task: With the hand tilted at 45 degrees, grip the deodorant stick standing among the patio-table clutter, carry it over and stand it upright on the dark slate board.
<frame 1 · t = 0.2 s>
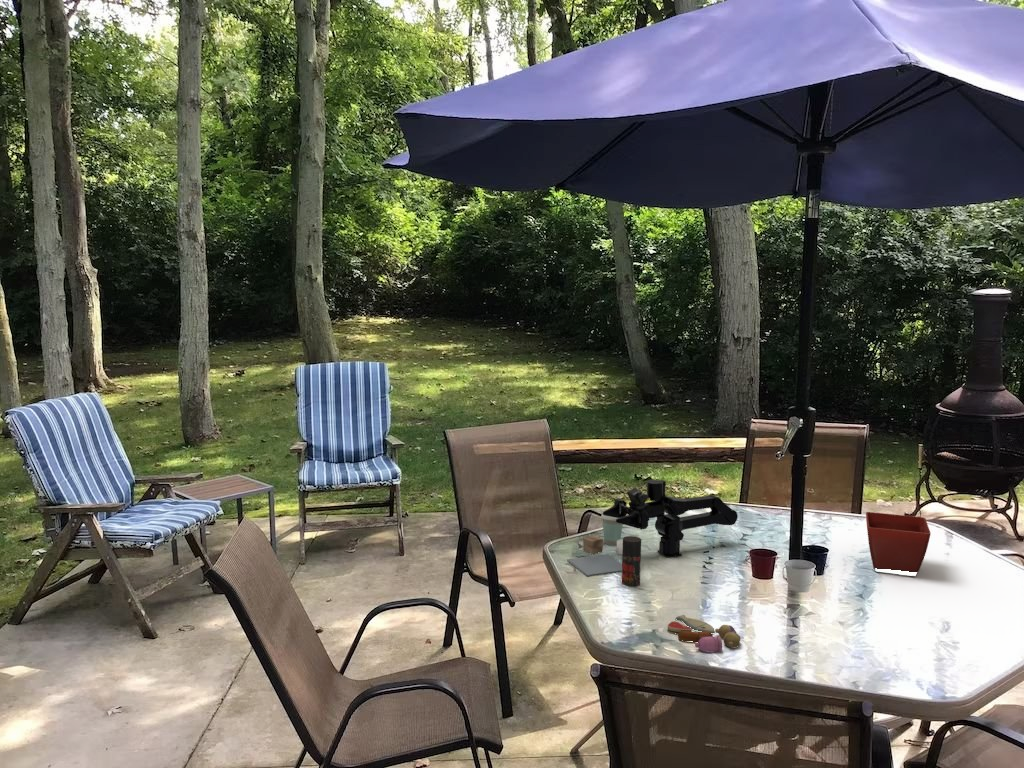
hand: (609, 517, 280), 17 cm above the table, tool horizontal, fingers open, 9 cm apart
walnut box: (592, 551, 295), on the table
deodorant: (630, 583, 265), on the table
plant pot: (893, 569, 279), on the table
off-white smooth dome: (626, 552, 294), on the table
toy food set: (704, 641, 225), on the table
slate board: (597, 565, 280), on the table
coffee cup: (612, 543, 304), on the table
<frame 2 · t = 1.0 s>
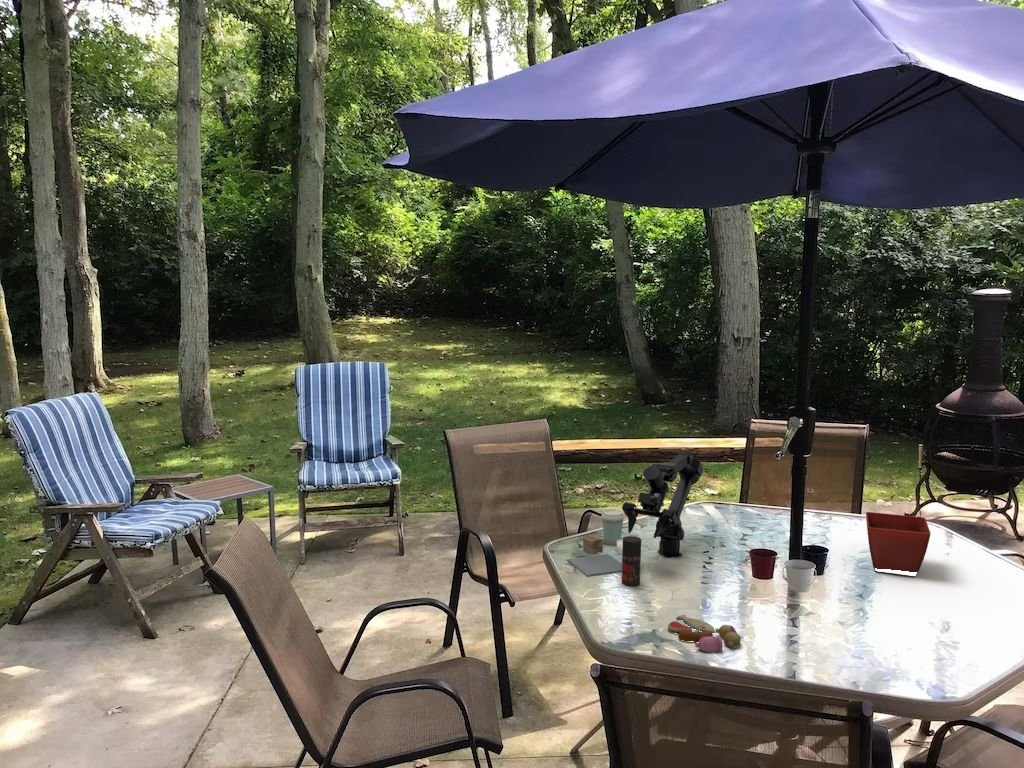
hand: (641, 535, 270), 14 cm above the table, tool tilted 45°, fingers open, 9 cm apart
nothing on the table moved.
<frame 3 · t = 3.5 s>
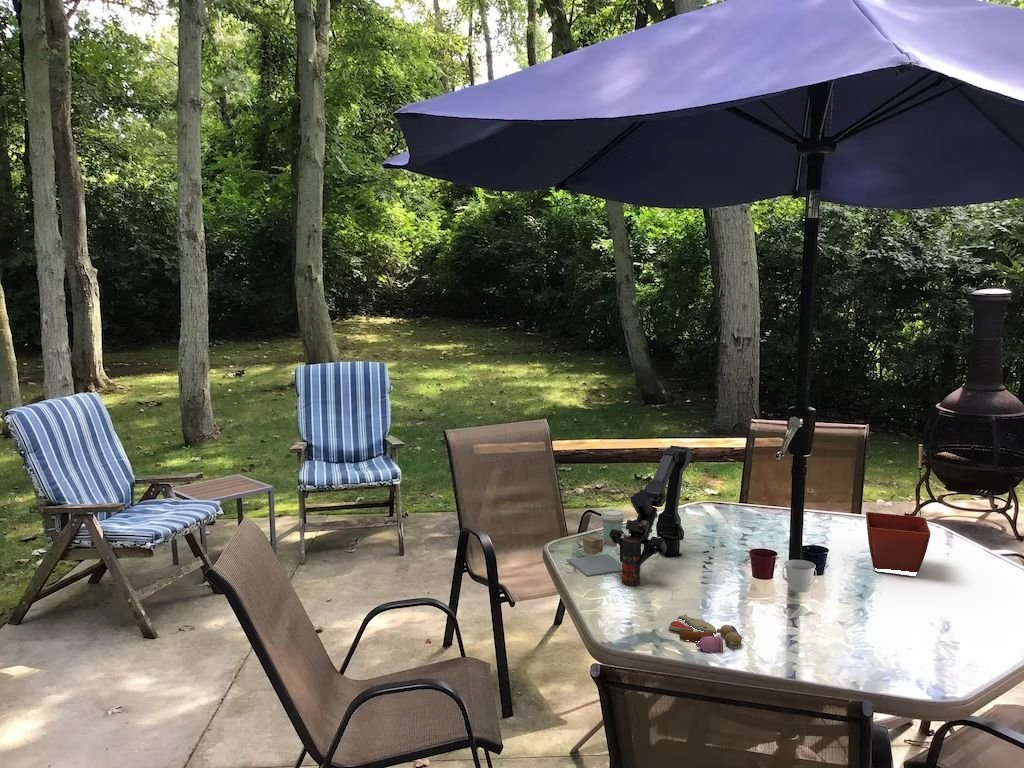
hand: (629, 563, 262), 7 cm above the table, tool tilted 45°, fingers closed on deodorant, 6 cm apart
deodorant: (630, 583, 265), on the table, touching gripper
everything else where it was.
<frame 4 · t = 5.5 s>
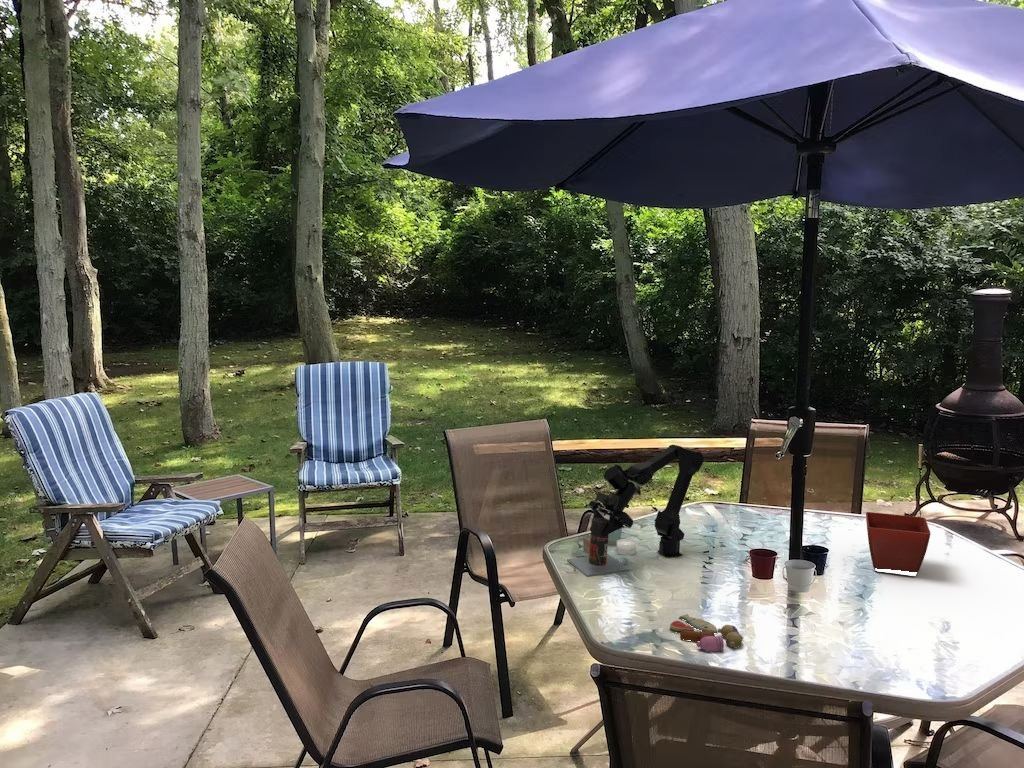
hand: (596, 533, 273), 13 cm above the table, tool tilted 45°, fingers closed on deodorant, 6 cm apart
deodorant: (597, 563, 275), point 3 cm above the table, touching gripper
everything else where it was.
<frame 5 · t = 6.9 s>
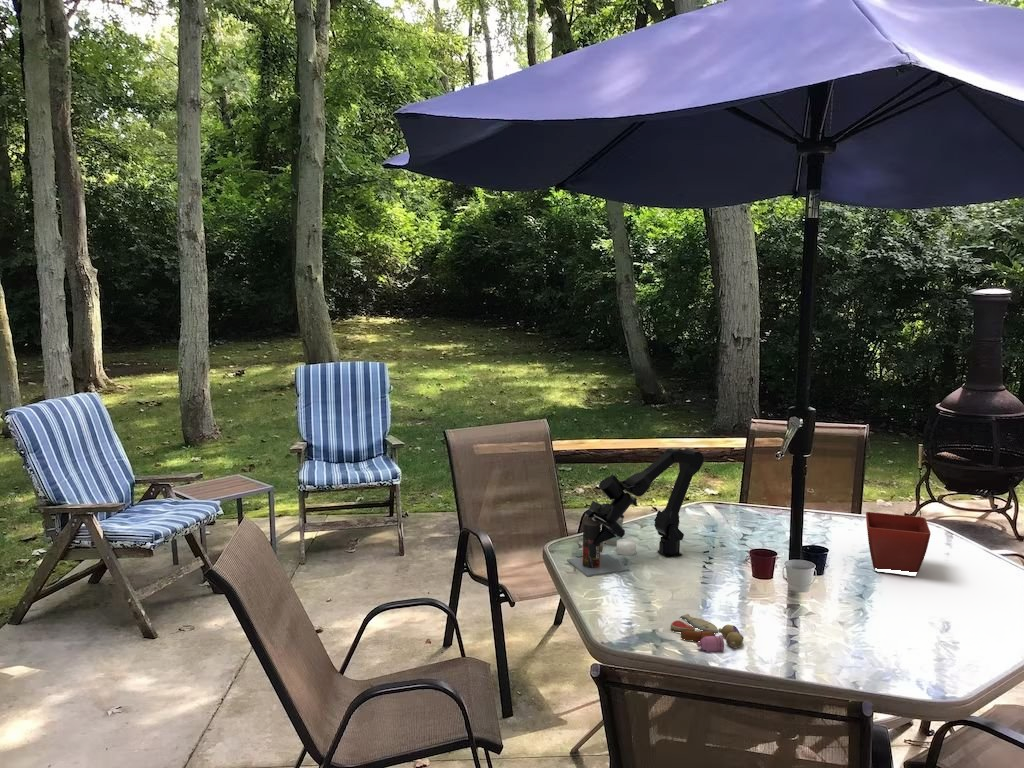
hand: (589, 541, 278), 9 cm above the table, tool tilted 45°, fingers closed on deodorant, 6 cm apart
deodorant: (591, 565, 279), resting on slate board, touching gripper
everything else where it was.
when the fingers open (9 cm above the table, at t = 7.2 s): deodorant stays where it is, resting on slate board.
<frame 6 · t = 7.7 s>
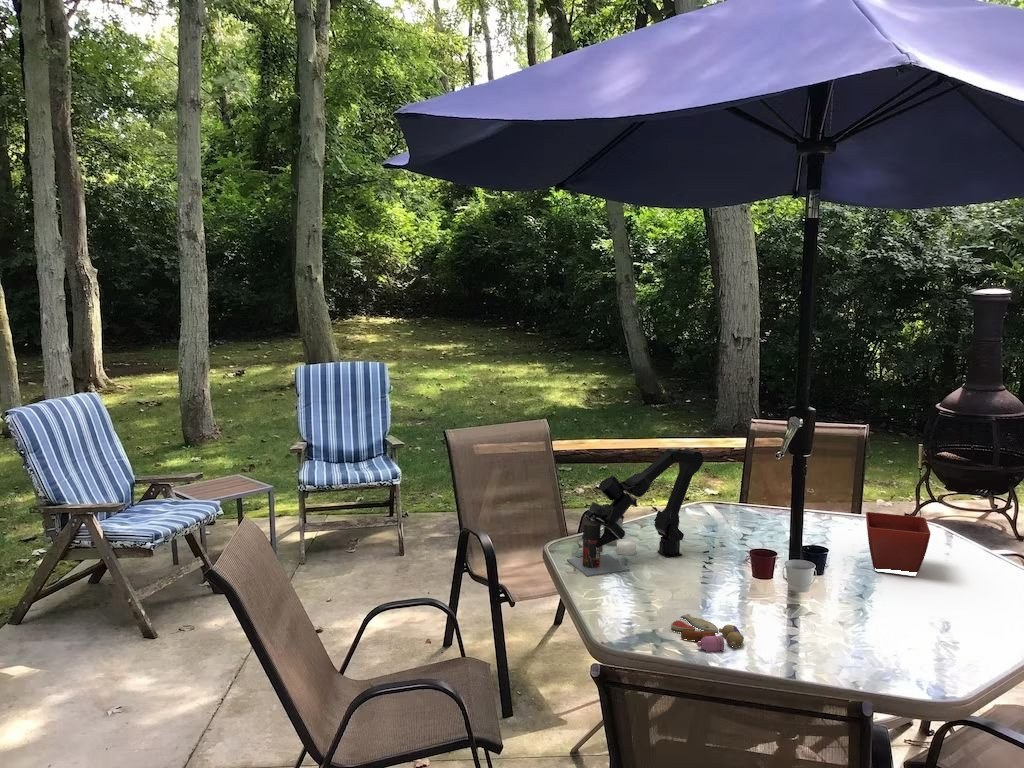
hand: (589, 542, 278), 9 cm above the table, tool tilted 45°, fingers open, 9 cm apart
deodorant: (591, 565, 279), resting on slate board
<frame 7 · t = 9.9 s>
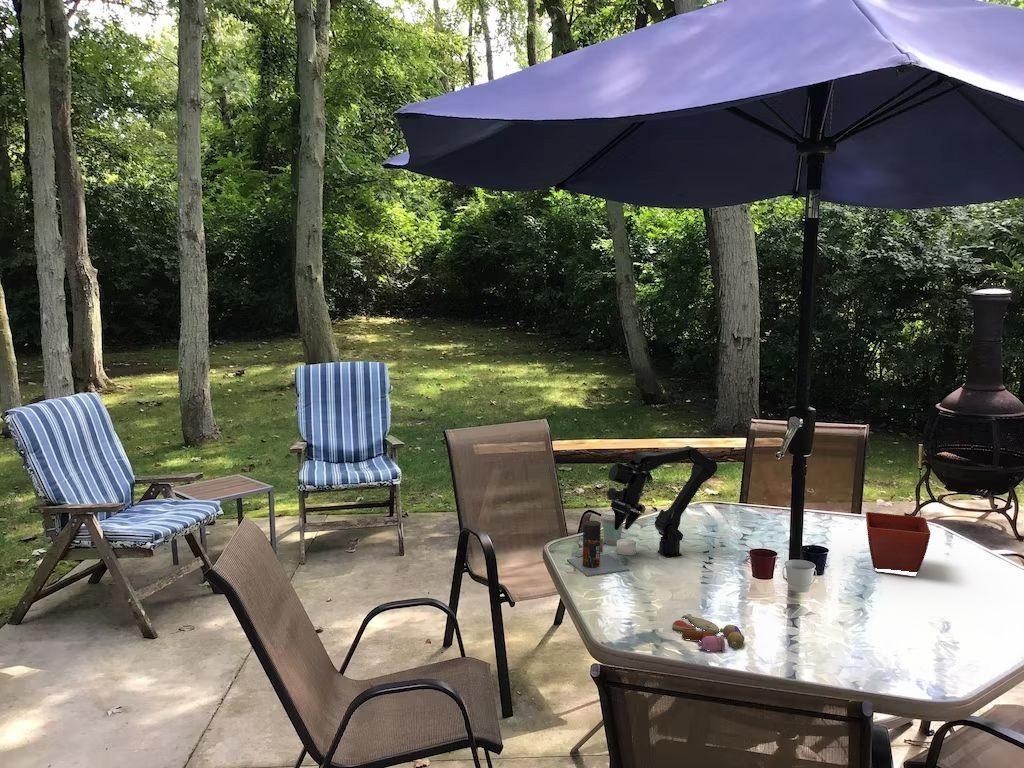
hand: (620, 529, 285), 11 cm above the table, tool tilted 20°, fingers open, 9 cm apart
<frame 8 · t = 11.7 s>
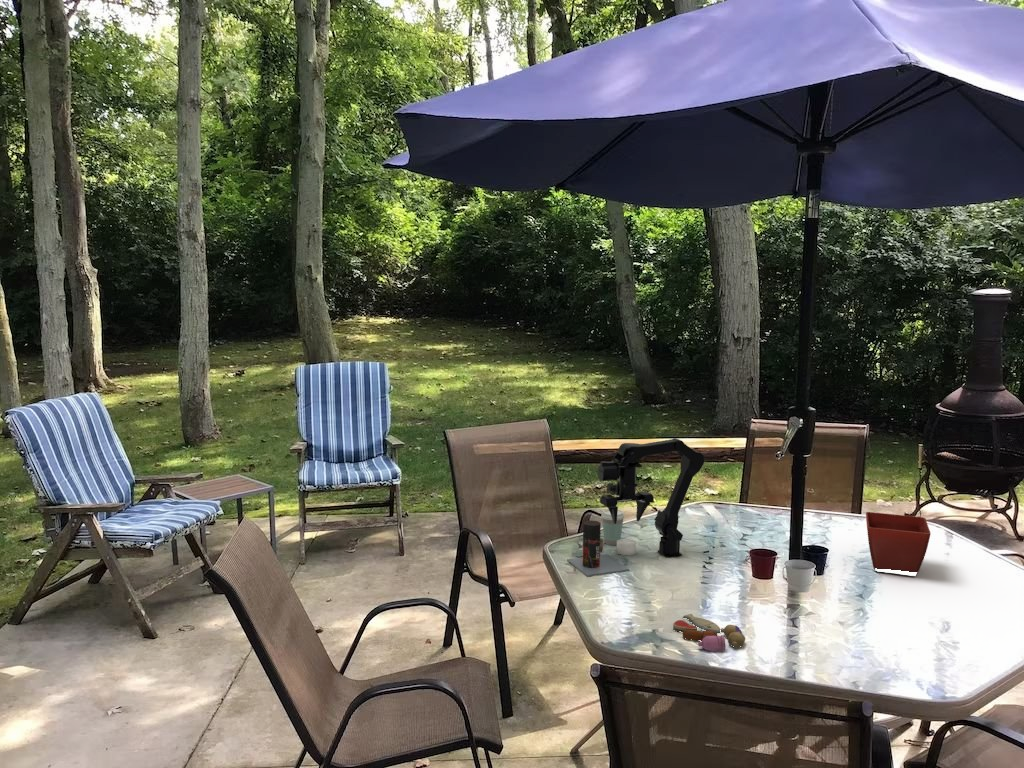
hand: (626, 522, 287), 13 cm above the table, tool pointing down, fingers open, 9 cm apart
at the end: deodorant inside the target area on the slate board (2.6 cm from its centre), point 0.4 cm above the slate board's base; deodorant tilted 0°; the gripper is holding nothing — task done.
